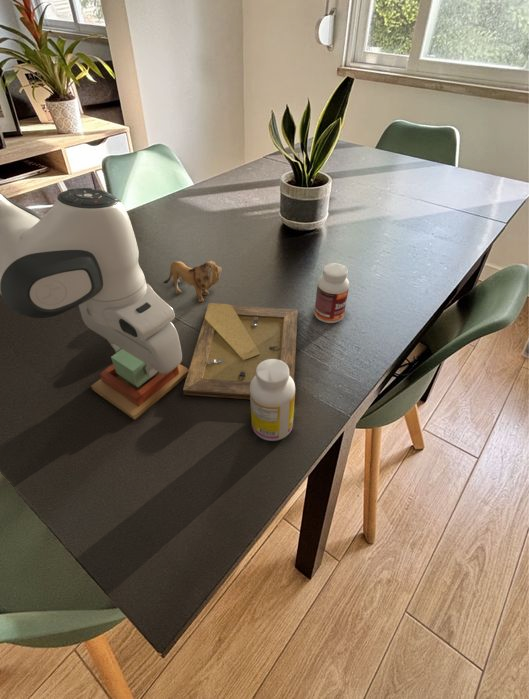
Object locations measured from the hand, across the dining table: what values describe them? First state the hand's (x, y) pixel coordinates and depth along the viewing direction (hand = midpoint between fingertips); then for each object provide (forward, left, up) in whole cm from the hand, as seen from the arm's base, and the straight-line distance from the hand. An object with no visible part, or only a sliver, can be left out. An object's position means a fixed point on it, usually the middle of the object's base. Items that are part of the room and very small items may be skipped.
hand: (137, 364), depth 72 cm
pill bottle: (+36, -17, -4) cm, 40 cm away
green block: (0, 0, -2) cm, 2 cm away
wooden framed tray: (0, 0, -4) cm, 4 cm away
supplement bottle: (+6, -24, -4) cm, 25 cm away
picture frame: (+17, -10, -4) cm, 20 cm away
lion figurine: (+25, +11, -4) cm, 28 cm away
